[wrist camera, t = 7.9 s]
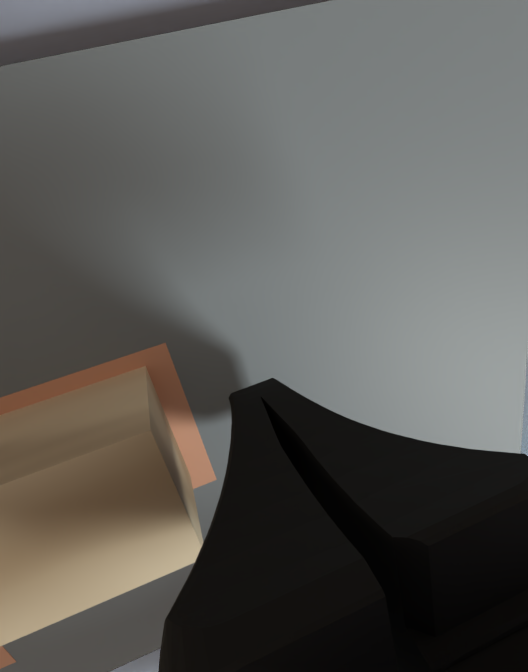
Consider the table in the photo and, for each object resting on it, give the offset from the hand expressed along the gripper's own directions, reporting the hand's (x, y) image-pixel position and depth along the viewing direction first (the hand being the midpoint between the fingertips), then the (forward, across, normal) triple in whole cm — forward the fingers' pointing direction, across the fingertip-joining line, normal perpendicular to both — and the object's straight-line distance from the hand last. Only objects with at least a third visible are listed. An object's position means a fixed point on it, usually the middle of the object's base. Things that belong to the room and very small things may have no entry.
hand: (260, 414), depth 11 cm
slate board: (+2, +3, 0) cm, 3 cm away
